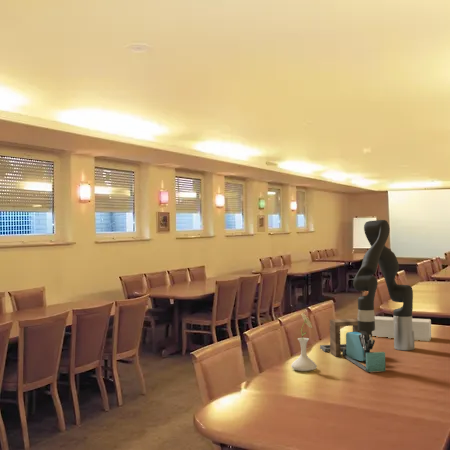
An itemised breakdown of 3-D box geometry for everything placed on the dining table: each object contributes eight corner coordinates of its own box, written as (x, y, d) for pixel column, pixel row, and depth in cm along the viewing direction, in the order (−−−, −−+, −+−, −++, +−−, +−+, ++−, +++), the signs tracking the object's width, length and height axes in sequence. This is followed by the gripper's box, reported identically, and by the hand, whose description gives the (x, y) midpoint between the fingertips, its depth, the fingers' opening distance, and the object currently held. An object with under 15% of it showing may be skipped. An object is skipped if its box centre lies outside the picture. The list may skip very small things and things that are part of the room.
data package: (370, 360, 239) (369, 335, 239) (362, 361, 237) (362, 336, 237) (353, 355, 249) (353, 330, 250) (346, 356, 247) (345, 331, 248)
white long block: (370, 337, 297) (370, 318, 297) (374, 334, 306) (373, 316, 307) (429, 341, 282) (428, 322, 282) (431, 338, 292) (430, 319, 292)
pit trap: (352, 347, 271) (352, 343, 271) (358, 350, 263) (358, 346, 263) (320, 348, 268) (320, 345, 268) (325, 352, 260) (325, 348, 260)
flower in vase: (316, 373, 220) (315, 315, 221) (290, 372, 223) (289, 315, 223) (317, 366, 233) (316, 311, 234) (292, 365, 236) (291, 311, 236)
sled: (358, 355, 251) (358, 338, 251) (385, 371, 221) (385, 352, 221) (342, 355, 250) (342, 339, 250) (367, 371, 220) (367, 353, 220)
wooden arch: (357, 351, 260) (357, 318, 260) (364, 355, 252) (363, 321, 252) (330, 353, 258) (329, 319, 258) (335, 357, 250) (335, 322, 250)
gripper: (380, 321, 224) (381, 361, 224) (368, 317, 237) (368, 354, 237) (364, 322, 223) (364, 362, 223) (352, 317, 236) (353, 355, 236)
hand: (367, 358), depth 230 cm, fingers closed
